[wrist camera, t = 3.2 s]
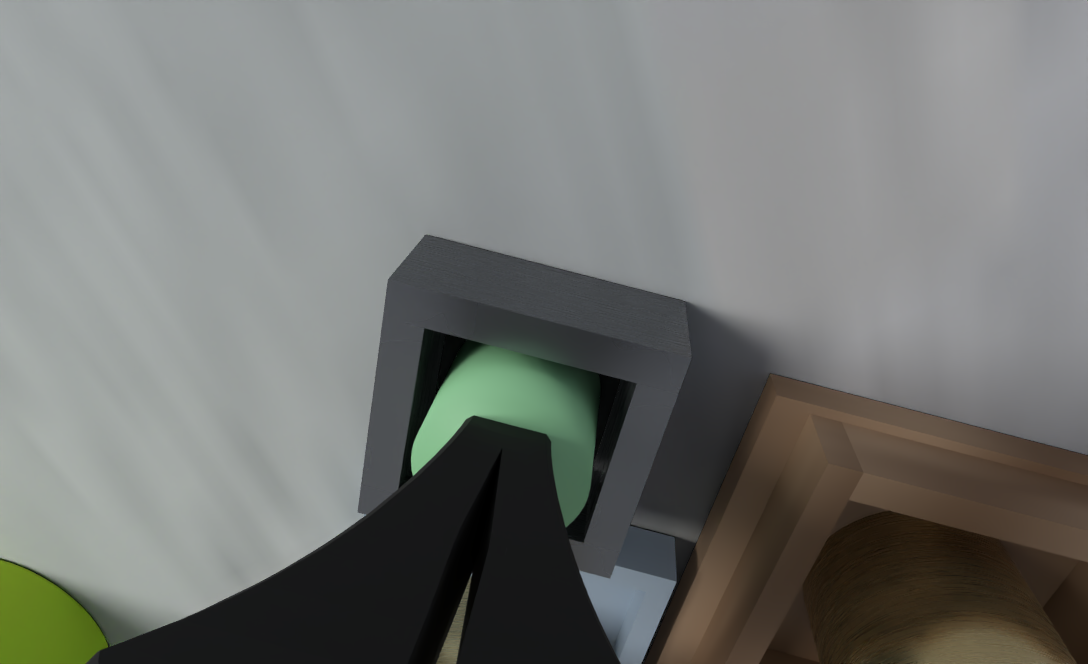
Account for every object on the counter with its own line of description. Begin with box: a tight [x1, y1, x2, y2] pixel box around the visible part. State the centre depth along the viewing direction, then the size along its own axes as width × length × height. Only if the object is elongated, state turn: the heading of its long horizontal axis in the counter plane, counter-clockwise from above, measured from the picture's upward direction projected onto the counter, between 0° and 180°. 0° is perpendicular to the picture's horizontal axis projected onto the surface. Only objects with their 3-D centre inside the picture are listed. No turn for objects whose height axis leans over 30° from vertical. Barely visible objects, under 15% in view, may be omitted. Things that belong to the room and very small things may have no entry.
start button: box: [411, 339, 601, 527], centre depth 13 cm, size 3×3×3 cm
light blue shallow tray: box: [364, 514, 677, 664], centre depth 17 cm, size 7×8×1 cm
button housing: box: [358, 235, 692, 579], centre depth 14 cm, size 5×5×2 cm
